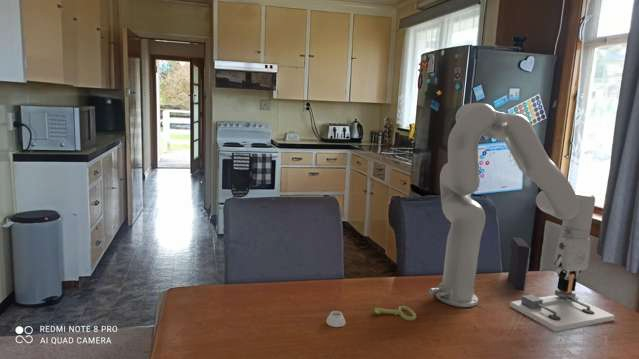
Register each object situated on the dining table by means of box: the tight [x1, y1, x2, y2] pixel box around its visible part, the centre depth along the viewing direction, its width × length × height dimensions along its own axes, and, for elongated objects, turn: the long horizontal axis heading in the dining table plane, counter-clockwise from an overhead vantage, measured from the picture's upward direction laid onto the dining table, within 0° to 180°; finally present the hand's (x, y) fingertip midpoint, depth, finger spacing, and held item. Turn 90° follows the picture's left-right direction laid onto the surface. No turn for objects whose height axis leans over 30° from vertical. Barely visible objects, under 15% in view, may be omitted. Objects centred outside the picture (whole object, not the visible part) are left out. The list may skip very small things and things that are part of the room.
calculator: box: [507, 237, 531, 290], centre depth 156 cm, size 11×4×15 cm, turn 168°
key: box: [372, 305, 417, 321], centre depth 126 cm, size 7×12×2 cm, turn 114°
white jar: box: [325, 310, 346, 328], centre depth 119 cm, size 5×3×5 cm
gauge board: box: [509, 294, 615, 332], centre depth 135 cm, size 24×16×4 cm, turn 113°
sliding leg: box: [554, 271, 590, 310], centre depth 137 cm, size 4×10×8 cm, turn 23°
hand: (565, 289), depth 140 cm, fingers closed on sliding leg, 2 cm apart
